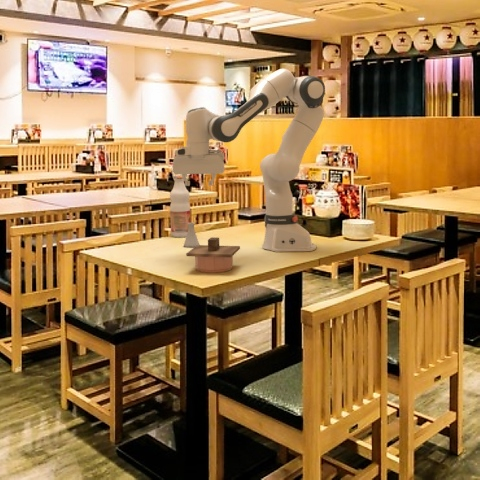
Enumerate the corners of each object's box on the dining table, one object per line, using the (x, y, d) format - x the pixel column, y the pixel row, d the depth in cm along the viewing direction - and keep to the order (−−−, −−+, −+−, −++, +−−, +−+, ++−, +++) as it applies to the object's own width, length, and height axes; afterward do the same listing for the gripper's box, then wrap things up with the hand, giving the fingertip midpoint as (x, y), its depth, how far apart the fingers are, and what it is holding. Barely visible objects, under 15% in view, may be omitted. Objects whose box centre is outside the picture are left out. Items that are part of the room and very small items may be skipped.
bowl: (235, 265, 241) (235, 249, 240) (228, 273, 228) (227, 256, 227) (201, 264, 243) (200, 248, 242) (192, 272, 231) (191, 255, 230)
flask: (197, 247, 277) (197, 224, 275) (181, 247, 278) (180, 224, 277) (202, 244, 284) (201, 222, 282) (185, 244, 285) (185, 221, 284)
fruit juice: (167, 235, 309) (165, 176, 304) (184, 233, 314) (182, 175, 309) (177, 238, 301) (175, 177, 296) (194, 236, 306) (193, 176, 301)
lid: (239, 248, 241) (239, 235, 240) (231, 257, 225) (230, 243, 225) (197, 247, 244) (197, 234, 243) (186, 256, 228) (185, 242, 228)
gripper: (225, 149, 256) (226, 184, 259) (175, 150, 260) (176, 184, 262) (222, 150, 250) (223, 186, 252) (170, 150, 254) (172, 186, 256)
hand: (199, 185), depth 257 cm, fingers open, 8 cm apart
